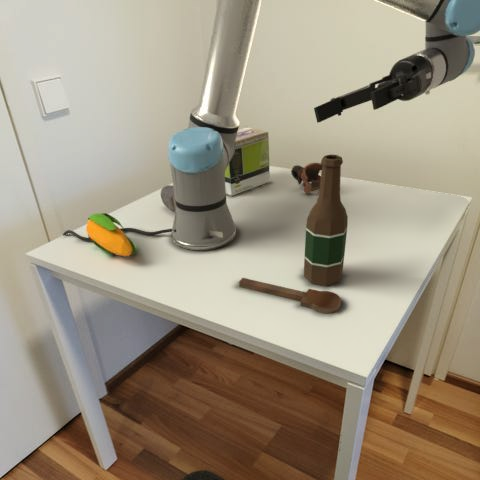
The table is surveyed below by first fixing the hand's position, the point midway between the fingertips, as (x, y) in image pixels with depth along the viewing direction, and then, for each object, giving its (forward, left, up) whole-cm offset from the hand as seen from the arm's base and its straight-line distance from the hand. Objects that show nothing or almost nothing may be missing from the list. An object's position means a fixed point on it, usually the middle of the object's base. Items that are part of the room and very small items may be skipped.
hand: (343, 108), depth 80 cm
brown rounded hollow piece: (-18, +36, -30) cm, 50 cm away
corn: (-47, -16, -30) cm, 58 cm away
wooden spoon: (-2, -18, -30) cm, 35 cm away
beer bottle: (+1, -9, -30) cm, 31 cm away
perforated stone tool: (-45, +8, -30) cm, 55 cm away
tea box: (-38, +31, -30) cm, 57 cm away
